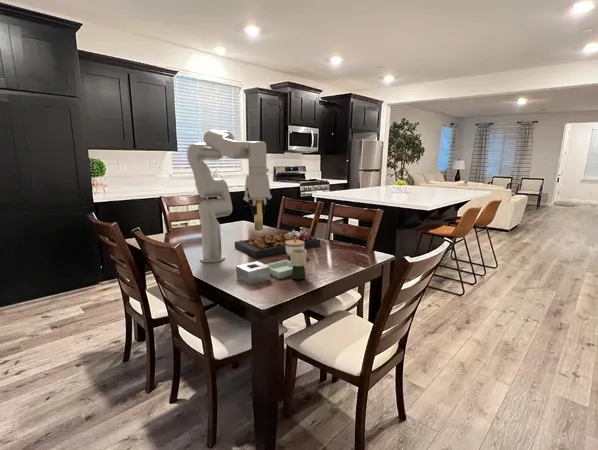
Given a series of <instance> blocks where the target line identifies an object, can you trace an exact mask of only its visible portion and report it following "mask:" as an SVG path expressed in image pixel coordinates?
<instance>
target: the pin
mask: <svg viewBox="0 0 598 450" xmlns="http://www.w3.org/2000/svg"><path fill="white" fill-rule="evenodd" d="M262 200H263V198H256V203H255V206H256V208H257V215H253V217H254V218H253V221H254V225H253V226H254V227H253V228H254V231H259V232H260V231H263V230H264V227H263V226H264V224H263V223H264V222H263V221H264V220H263V218H264V217H263V215H264V214H262Z"/></svg>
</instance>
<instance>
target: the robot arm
mask: <svg viewBox="0 0 598 450" xmlns="http://www.w3.org/2000/svg"><path fill="white" fill-rule="evenodd" d="M203 141H204V142H193V143H192V144H190V145H189V146H188V148H187V151H186V155H187V156H186V157H187V161H188V164H189V167H190V168H191V170H192V173H193V177H194V182H195V186H196V190H197V193H198V196H199V197H200V198H211V199H204V200H202V201H201V202H199V204H198V214H199V218H200V224H201V242H202V243H201V244H202V247H201V248H202V250H201V251H202V256H200V257H199V260H200V262H202V263H208V264H210V263H211V264H212V263H220V262H222V261H224V260H225V257H226V256H225V255H223V254H222V232H221V231H222V230H221V224H220V222H219V221H218V219H217V218H222V217H227V216H230V215H231V214H232V212H233V204H232V203H233V202H232V199H231V194H230V190H229V185H228V183H227V181H225V179H223V178H221V177H220V178H219V177H216V178H214V177H213V176H212V172H211V169H210V168H209V165H207V164H206V163H205V162H204V161H218V160H219V161H220V160H221V159H223V158H224V157H226V158H228V159H232V160H233V159H234V160H248V161H247V162H248V174H246V176H245V177H246V178H245V185H244V197H243V198H242V199H243V201H245V202H247V203H248V204H249V206H250V213H251V215H253V216H254V215H257V208H256V206H255V203H256V198H263V200H262V214H263V215H265V214H266V205H267V203H268V202H269V200H271V199H272V198H273V195H272V194H271V190H270V188H271V187H270V180H269V179H270V178H269V175H268V172H269V171H270V169H269V168H268V167H267V143H266V142H265V141H259V140H258V141H257V140H256V141H248V140H235V137H234V135H233V133H232V132H230V131H229V130H222V129H221V130H219V129H210V130H208V131H205V133H204V134H203ZM214 197H215V198H214ZM216 197H217V198H216Z"/></svg>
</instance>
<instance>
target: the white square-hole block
mask: <svg viewBox="0 0 598 450" xmlns="http://www.w3.org/2000/svg"><path fill="white" fill-rule="evenodd" d="M235 266H236V267H235V269H236V272H235V273H236V280H238V281H240V282H242V283H243V284H246V285H247V286H251V285H256V284H258V283H259V284H260V283H262V282H266V281H270V280H271V275H270V266H268V265H266V264H265V263H262V262H261V261H259V260H258V261H257V260H256V261H252V262H247V263H242V264H239V265H235Z"/></svg>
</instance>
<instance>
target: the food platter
mask: <svg viewBox="0 0 598 450" xmlns="http://www.w3.org/2000/svg"><path fill="white" fill-rule="evenodd" d="M294 239H296V240H301V241H304V242H305V245H304V249H305V250H306V249H309V248H315V247H320V246H321V239H319V238H316V237H314V236H312V234H311V231H309V233H308V232H307V230H305V231H304V232H303V233H302V232H299V231H295V230H294V229H292V231H291V232H288V233H279V234H276V233H270V234H269V235H267V236H266V234H263V235H261V236H260V237H256V238H254V237H251V236H250V237H249V238H248V239H245V240H243V239H241V240H239V241H234V249H236V250H238V251H240V252H241V253H244V254H246V255H248V256H250V257H252V258H254V259H258V258H264V257H269V256H272V255H273V256H274V255H279V254H283V253H287V252H286V249H285V242H286V241H289V240H294Z"/></svg>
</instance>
